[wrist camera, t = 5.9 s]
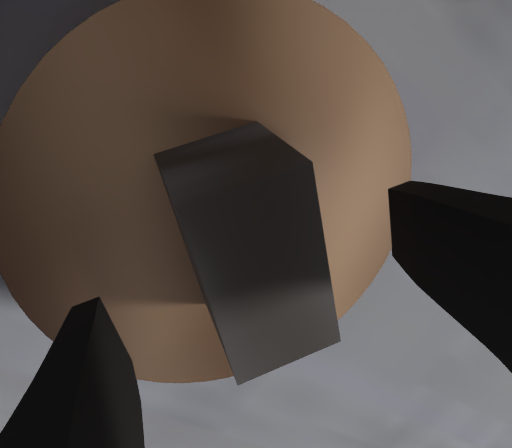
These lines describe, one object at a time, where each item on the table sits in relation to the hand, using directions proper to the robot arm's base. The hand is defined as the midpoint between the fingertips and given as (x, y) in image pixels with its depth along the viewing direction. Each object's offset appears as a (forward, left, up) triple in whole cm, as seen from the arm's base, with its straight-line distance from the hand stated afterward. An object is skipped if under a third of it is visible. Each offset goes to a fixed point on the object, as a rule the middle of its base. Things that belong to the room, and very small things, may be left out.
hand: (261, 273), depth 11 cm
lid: (0, 0, -3) cm, 3 cm away
